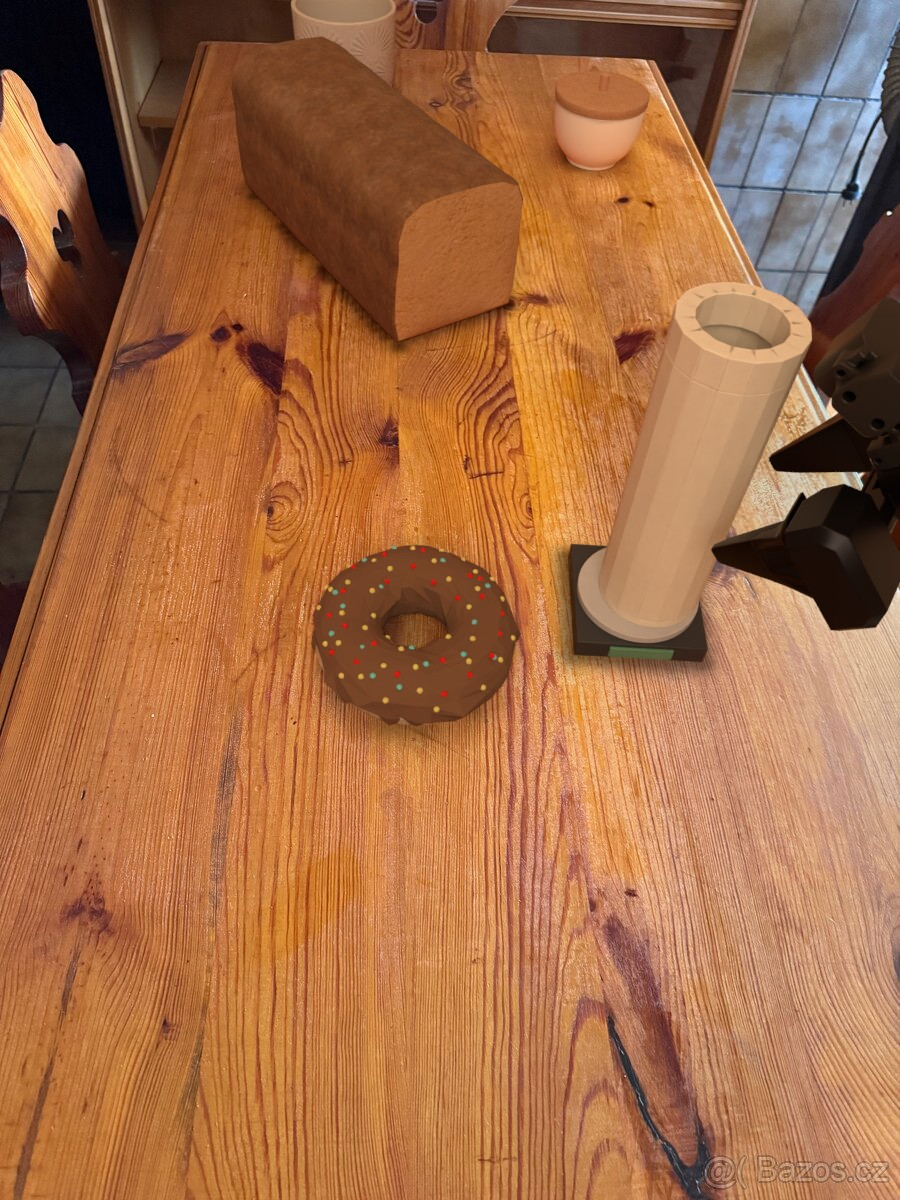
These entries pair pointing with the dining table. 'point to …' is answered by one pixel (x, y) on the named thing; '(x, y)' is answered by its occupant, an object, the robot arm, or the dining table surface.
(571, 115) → the trinket box
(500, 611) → the donut
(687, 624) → the scale
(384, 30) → the planter
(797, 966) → the dining table surface
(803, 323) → the canister
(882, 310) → the robot arm
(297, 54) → the bread
